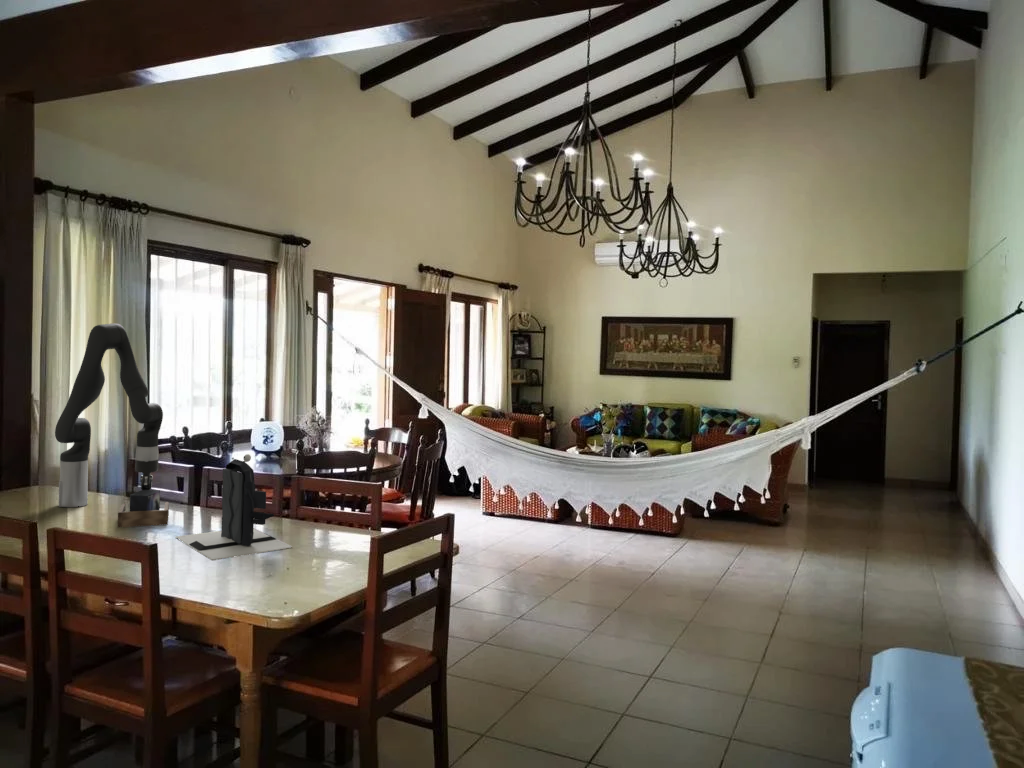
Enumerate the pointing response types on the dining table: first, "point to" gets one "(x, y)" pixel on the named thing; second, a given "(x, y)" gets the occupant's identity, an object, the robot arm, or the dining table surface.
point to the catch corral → (143, 517)
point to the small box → (145, 500)
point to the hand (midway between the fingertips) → (145, 505)
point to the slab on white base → (237, 518)
